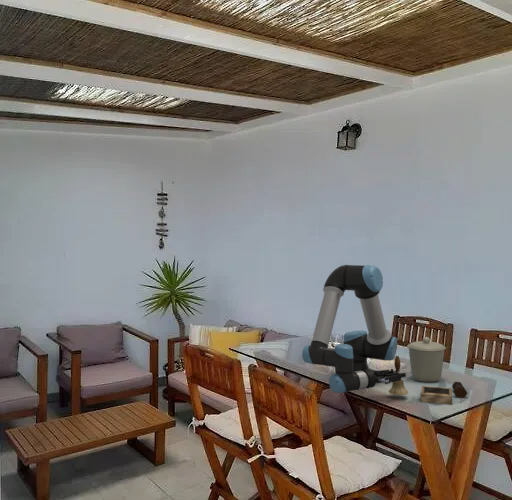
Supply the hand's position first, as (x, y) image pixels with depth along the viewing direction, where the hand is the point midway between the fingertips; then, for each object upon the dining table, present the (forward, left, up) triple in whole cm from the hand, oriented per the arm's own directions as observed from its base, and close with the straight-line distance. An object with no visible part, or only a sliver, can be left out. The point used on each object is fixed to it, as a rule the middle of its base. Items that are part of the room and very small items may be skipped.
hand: (408, 372), depth 232 cm
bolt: (+21, +11, -11) cm, 26 cm away
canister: (+7, +30, -11) cm, 33 cm away
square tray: (+12, -1, -10) cm, 16 cm away
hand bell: (-4, -4, -8) cm, 10 cm away
